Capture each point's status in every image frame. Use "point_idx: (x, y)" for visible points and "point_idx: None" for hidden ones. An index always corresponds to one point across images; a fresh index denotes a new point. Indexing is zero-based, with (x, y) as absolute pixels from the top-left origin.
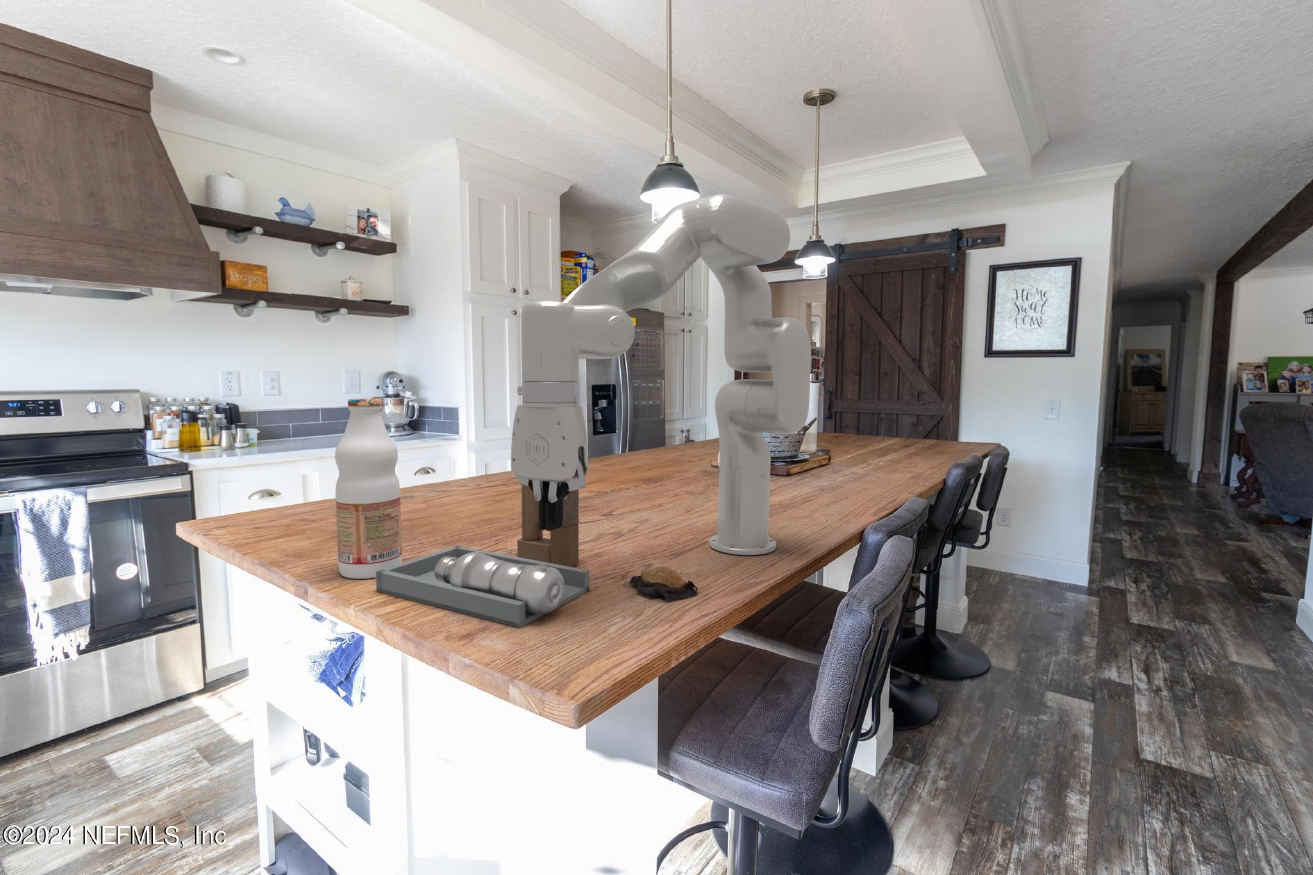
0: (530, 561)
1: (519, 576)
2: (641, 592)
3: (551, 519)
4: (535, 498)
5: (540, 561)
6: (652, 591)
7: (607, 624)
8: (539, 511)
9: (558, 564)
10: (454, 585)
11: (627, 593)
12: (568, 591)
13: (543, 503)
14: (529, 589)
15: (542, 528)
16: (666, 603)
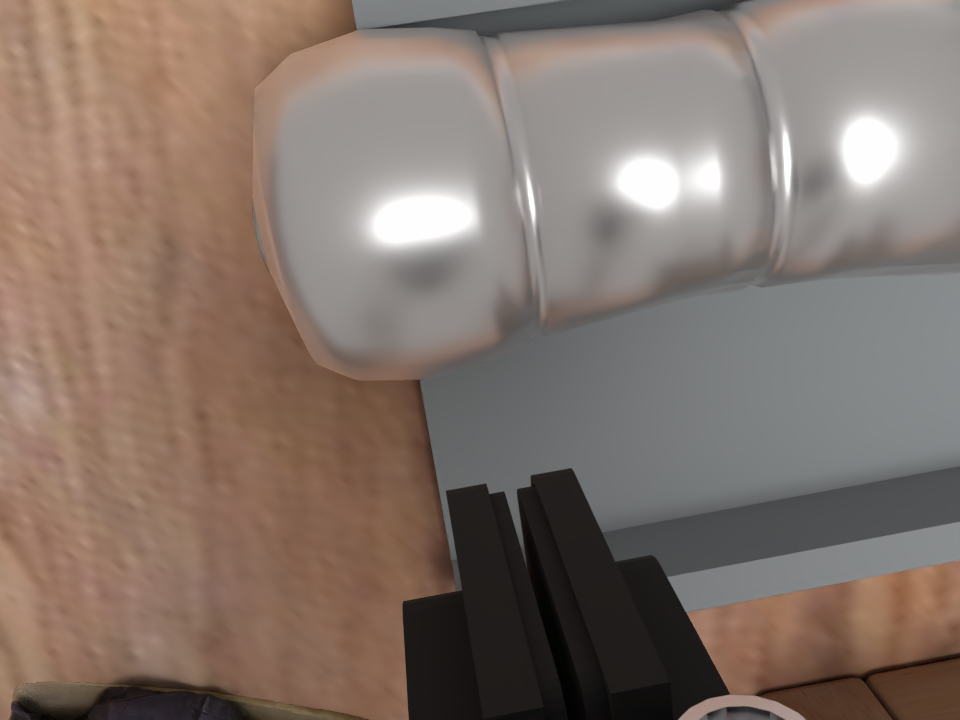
0: (869, 550)
1: (479, 90)
2: (189, 698)
3: (463, 601)
4: (775, 710)
5: (816, 584)
6: (101, 717)
7: (16, 325)
8: (617, 584)
9: (814, 696)
10: None
11: (269, 665)
12: (490, 479)
13: (592, 693)
14: (326, 51)
15: (532, 481)
16: (18, 691)
